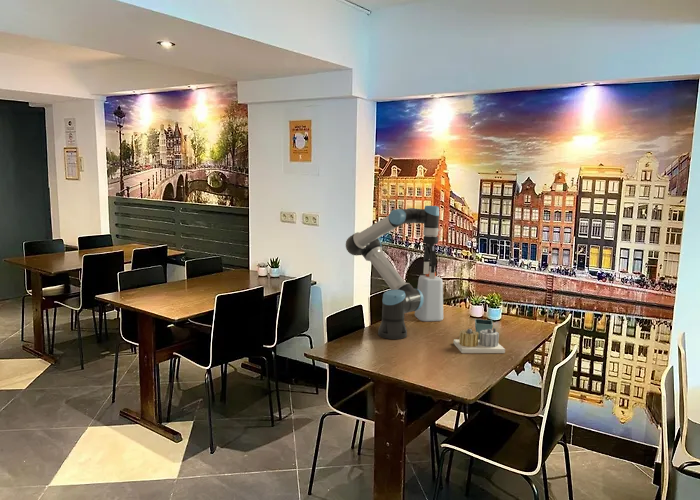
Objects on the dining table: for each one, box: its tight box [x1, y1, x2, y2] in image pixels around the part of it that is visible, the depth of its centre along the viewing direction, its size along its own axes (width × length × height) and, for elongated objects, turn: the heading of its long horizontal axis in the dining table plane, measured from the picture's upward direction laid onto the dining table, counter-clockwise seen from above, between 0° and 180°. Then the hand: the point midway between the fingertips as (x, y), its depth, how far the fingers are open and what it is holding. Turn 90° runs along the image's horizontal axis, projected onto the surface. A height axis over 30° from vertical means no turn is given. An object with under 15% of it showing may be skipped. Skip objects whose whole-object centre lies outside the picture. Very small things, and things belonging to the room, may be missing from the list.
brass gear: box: [458, 329, 479, 347], centre depth 256 cm, size 9×9×6 cm
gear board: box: [453, 327, 506, 354], centre depth 257 cm, size 21×15×10 cm
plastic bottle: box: [414, 271, 444, 322], centre depth 309 cm, size 15×15×28 cm
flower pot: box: [474, 318, 494, 340], centre depth 273 cm, size 9×9×9 cm
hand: (428, 276), depth 272 cm, fingers open, 13 cm apart
